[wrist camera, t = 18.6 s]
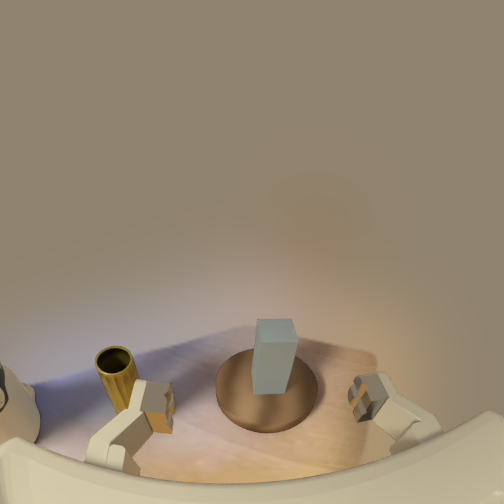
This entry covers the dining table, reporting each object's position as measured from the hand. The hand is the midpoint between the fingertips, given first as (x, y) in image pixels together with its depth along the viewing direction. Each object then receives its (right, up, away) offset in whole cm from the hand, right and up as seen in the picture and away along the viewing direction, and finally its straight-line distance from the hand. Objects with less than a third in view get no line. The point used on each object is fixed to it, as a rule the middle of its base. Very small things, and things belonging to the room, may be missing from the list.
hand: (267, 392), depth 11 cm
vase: (-19, -21, +24) cm, 37 cm away
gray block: (+2, -16, +31) cm, 35 cm away
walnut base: (+2, -18, +32) cm, 37 cm away
